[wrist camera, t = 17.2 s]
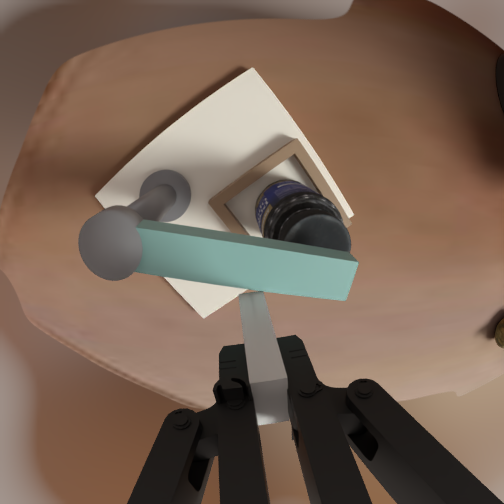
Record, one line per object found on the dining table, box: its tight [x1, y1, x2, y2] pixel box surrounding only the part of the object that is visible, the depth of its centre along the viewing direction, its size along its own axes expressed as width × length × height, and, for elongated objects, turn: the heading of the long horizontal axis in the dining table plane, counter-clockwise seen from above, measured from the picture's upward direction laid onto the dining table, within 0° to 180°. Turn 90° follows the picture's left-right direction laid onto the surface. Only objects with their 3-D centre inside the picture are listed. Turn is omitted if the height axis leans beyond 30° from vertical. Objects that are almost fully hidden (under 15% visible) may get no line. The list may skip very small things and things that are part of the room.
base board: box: [95, 67, 354, 318], centre depth 22 cm, size 20×18×14 cm
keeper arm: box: [78, 205, 359, 301], centre depth 15 cm, size 15×4×2 cm, turn 79°
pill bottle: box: [255, 180, 351, 253], centre depth 23 cm, size 6×6×11 cm
